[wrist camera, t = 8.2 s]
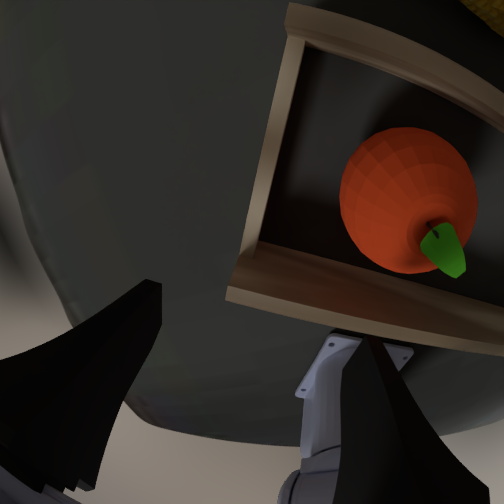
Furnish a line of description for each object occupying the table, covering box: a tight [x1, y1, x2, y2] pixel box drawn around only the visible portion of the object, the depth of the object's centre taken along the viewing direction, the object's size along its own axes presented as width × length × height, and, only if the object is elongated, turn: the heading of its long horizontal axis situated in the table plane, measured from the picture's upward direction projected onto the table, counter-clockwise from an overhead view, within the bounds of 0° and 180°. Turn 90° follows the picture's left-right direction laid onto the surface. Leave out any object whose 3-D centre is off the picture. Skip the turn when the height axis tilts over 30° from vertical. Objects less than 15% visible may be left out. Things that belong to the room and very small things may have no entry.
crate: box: [225, 2, 504, 356], centre depth 13 cm, size 14×26×5 cm, turn 79°
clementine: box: [339, 127, 478, 278], centre depth 13 cm, size 8×7×7 cm
